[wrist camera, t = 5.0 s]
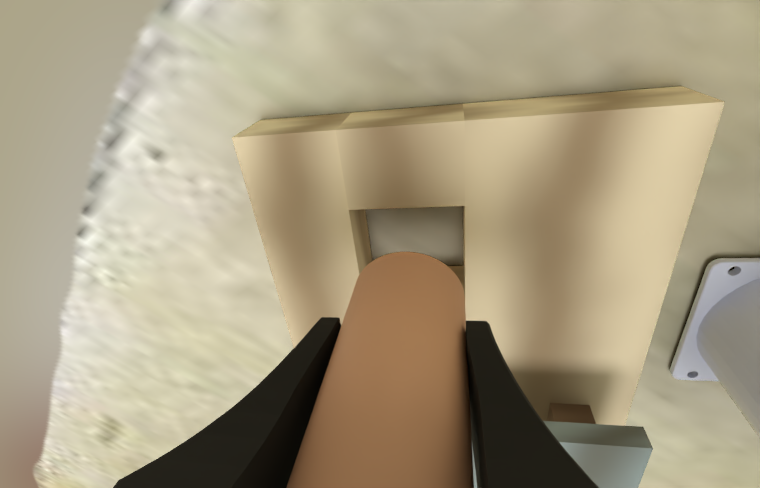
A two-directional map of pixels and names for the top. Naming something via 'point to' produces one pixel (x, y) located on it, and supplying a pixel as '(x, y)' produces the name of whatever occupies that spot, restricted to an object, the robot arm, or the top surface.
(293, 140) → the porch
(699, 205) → the top surface
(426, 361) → the peg
